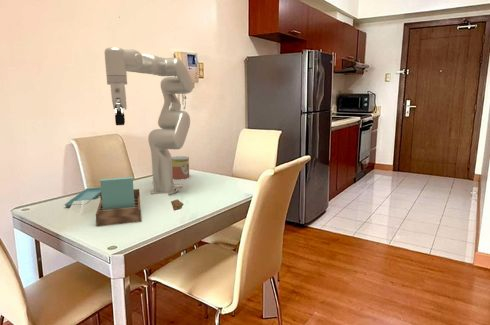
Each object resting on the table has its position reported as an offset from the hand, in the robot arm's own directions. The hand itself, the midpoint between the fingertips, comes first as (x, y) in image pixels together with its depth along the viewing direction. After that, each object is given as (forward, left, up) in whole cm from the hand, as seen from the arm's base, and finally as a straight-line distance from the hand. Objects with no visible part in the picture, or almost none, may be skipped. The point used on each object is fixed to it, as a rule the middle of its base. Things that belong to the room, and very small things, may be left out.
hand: (120, 124), depth 140 cm
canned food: (-29, -53, -36) cm, 71 cm away
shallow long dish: (+18, -22, -37) cm, 47 cm away
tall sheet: (+2, +18, -35) cm, 39 cm away
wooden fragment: (-17, +4, -37) cm, 40 cm away
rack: (+2, +12, -36) cm, 38 cm away
